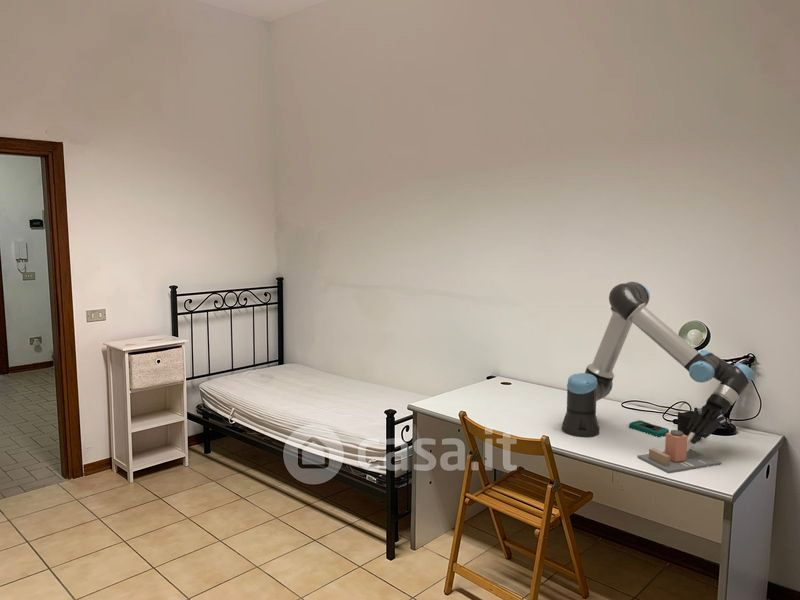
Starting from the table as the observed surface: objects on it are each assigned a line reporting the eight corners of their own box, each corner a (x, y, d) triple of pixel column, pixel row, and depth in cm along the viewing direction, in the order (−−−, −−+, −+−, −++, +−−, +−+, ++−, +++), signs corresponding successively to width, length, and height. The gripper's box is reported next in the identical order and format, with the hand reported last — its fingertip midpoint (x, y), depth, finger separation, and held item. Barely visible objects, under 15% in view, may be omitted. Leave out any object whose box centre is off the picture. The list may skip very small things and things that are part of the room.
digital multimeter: (659, 438, 235) (659, 431, 235) (628, 428, 248) (628, 421, 247) (670, 435, 239) (670, 428, 239) (638, 425, 251) (639, 419, 251)
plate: (688, 449, 222) (688, 439, 221) (721, 464, 208) (722, 452, 207) (637, 457, 214) (637, 446, 213) (668, 473, 200) (669, 461, 199)
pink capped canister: (675, 455, 213) (676, 428, 212) (686, 460, 208) (687, 433, 207) (664, 456, 211) (666, 430, 210) (675, 461, 207) (676, 434, 206)
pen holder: (676, 432, 241) (678, 409, 240) (702, 436, 237) (703, 412, 236) (675, 439, 233) (677, 415, 232) (702, 443, 229) (703, 418, 228)
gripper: (742, 410, 209) (704, 461, 206) (712, 401, 222) (675, 448, 218) (732, 397, 207) (693, 448, 203) (702, 388, 219) (665, 436, 216)
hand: (684, 448), depth 211 cm, fingers closed
